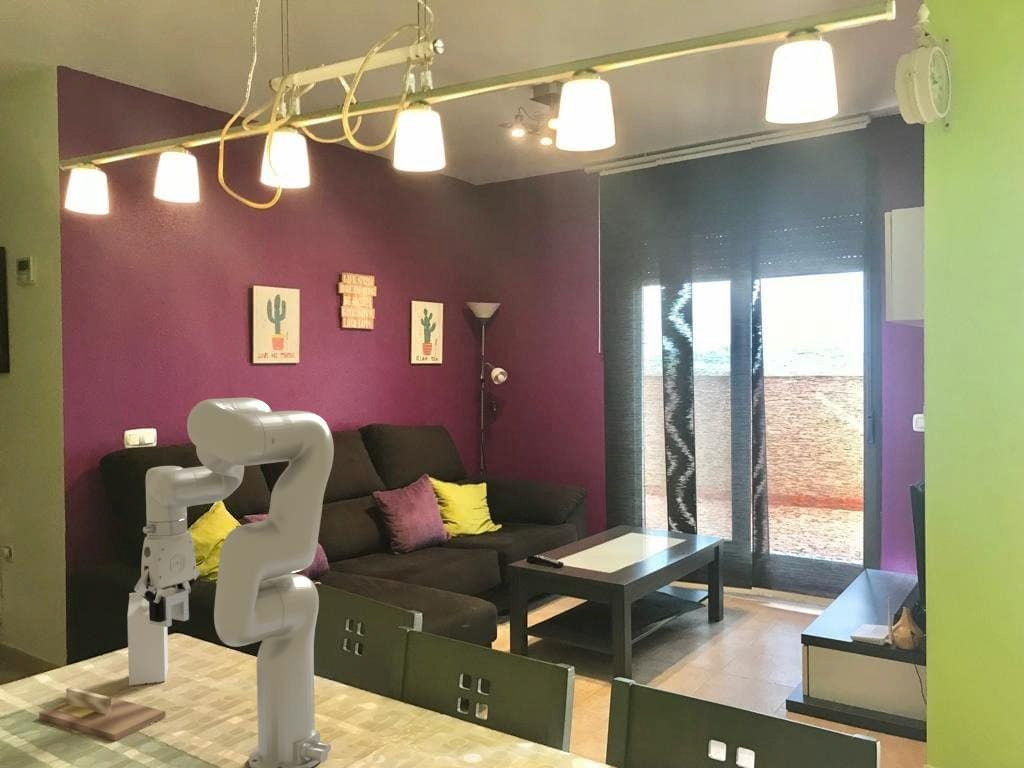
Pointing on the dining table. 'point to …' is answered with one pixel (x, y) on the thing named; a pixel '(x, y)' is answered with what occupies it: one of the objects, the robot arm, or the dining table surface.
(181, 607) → the notched grey block
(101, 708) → the rail board
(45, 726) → the dining table surface
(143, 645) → the milk carton
